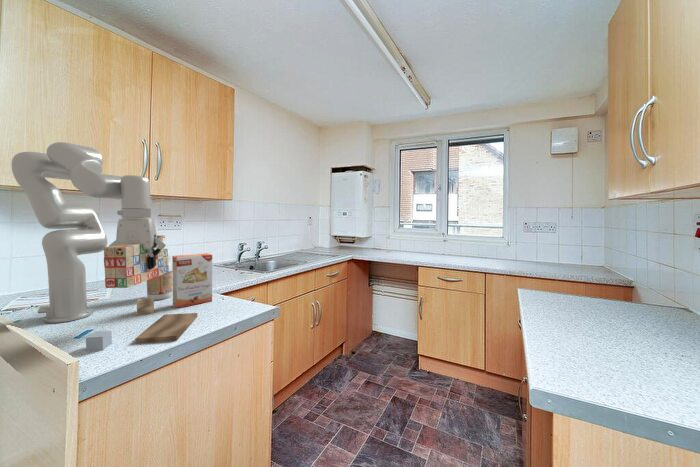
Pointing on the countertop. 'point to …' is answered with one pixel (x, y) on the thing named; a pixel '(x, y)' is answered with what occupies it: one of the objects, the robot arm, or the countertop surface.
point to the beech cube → (145, 306)
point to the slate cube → (98, 340)
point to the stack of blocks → (131, 265)
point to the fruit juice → (161, 280)
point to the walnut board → (167, 328)
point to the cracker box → (192, 279)
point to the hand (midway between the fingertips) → (139, 268)
